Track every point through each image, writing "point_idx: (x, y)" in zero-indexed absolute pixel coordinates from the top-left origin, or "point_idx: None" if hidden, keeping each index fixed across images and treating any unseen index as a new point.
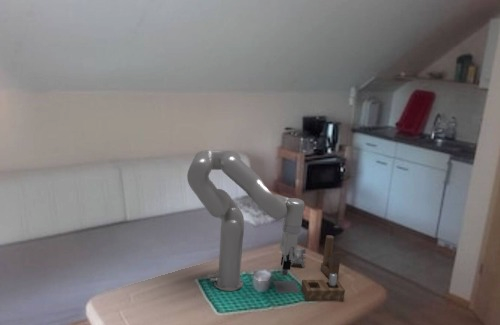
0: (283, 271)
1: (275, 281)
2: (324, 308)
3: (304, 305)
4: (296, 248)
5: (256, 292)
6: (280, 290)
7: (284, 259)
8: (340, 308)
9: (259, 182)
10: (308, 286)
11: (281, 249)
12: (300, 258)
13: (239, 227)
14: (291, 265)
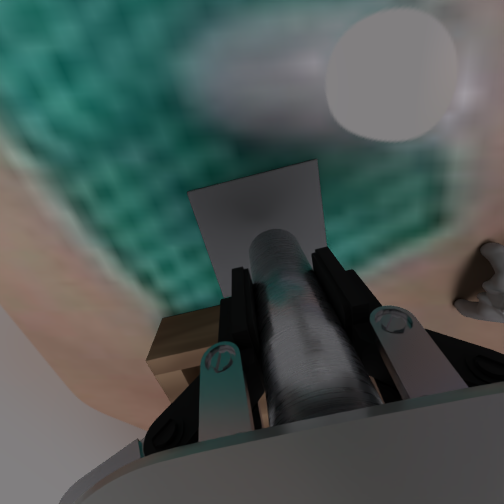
0: (253, 258)
1: (311, 176)
2: (138, 371)
3: (127, 311)
4: None
5: (155, 48)
6: (215, 208)
7: (273, 335)
8: (161, 408)
9: None
10: (191, 362)
11: (380, 455)
12: None
13: None
14: (484, 256)
